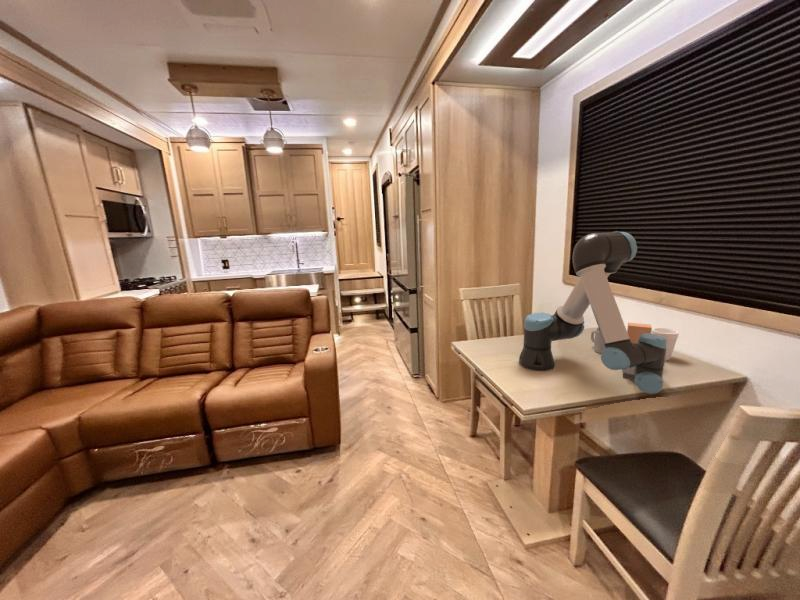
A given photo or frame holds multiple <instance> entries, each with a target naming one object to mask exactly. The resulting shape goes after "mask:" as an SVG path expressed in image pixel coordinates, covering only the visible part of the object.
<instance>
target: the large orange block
mask: <svg viewBox="0 0 800 600" xmlns="http://www.w3.org/2000/svg"><path fill="white" fill-rule="evenodd" d="M652 329H653V327H652V324H647V323H637V322H627V328H626V330H627V333H628V335H629V338H630V341H631V343H637V342H638V339H639V336H640V335H641V334H644V333H651V331H652Z"/></svg>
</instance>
